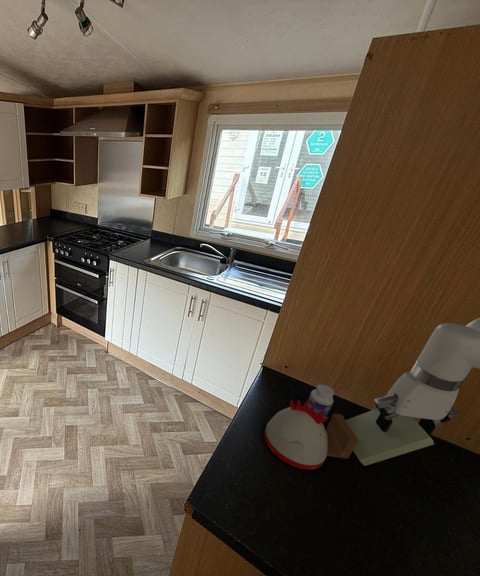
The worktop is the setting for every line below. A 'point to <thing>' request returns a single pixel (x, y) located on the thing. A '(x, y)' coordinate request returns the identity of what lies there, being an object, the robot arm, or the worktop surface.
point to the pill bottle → (321, 399)
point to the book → (386, 437)
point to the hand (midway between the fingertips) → (401, 429)
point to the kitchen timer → (298, 436)
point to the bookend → (340, 438)
